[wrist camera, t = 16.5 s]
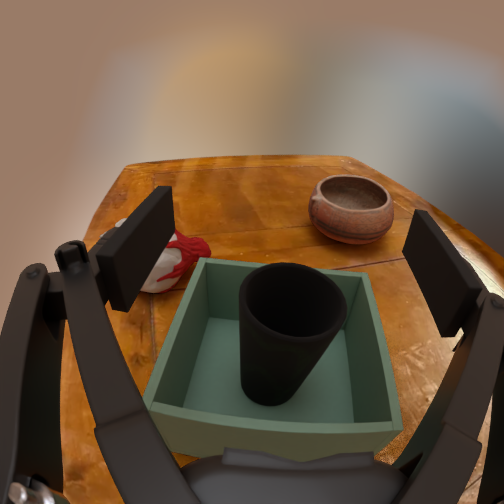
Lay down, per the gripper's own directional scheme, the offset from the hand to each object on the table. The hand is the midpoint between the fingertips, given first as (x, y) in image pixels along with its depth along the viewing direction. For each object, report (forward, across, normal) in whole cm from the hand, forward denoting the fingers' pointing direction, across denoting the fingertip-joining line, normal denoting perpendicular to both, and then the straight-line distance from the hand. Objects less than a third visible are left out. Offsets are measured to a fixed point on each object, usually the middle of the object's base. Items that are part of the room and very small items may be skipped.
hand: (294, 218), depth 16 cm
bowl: (+35, +13, -20) cm, 42 cm away
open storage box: (+2, 0, -20) cm, 20 cm away
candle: (+18, -16, -20) cm, 31 cm away
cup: (+2, 0, -19) cm, 19 cm away
